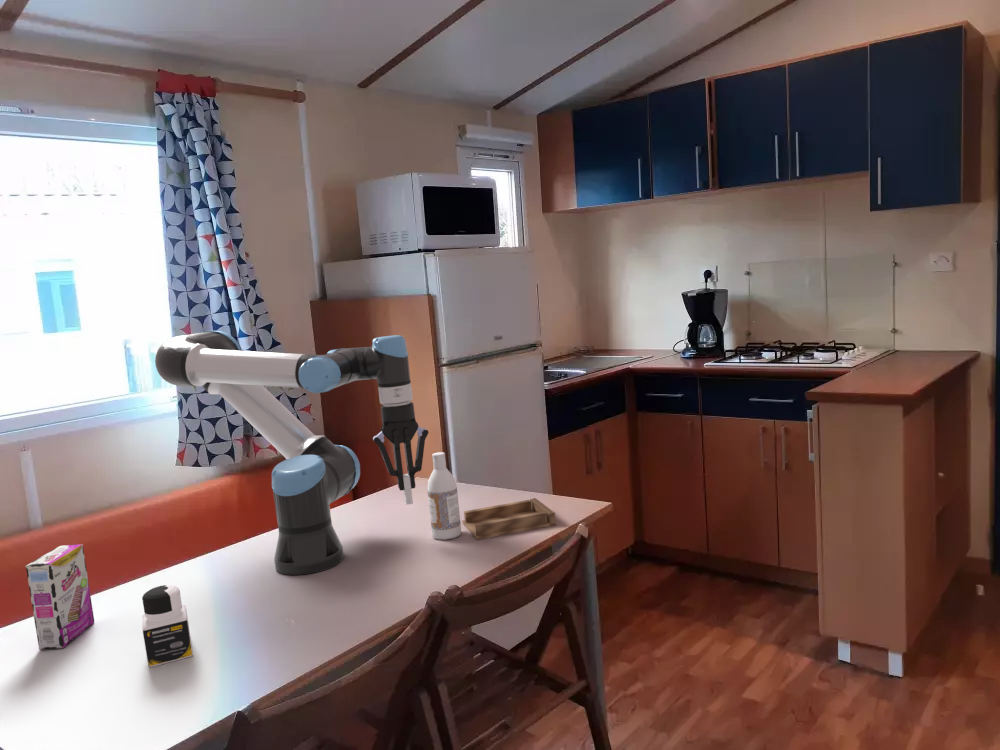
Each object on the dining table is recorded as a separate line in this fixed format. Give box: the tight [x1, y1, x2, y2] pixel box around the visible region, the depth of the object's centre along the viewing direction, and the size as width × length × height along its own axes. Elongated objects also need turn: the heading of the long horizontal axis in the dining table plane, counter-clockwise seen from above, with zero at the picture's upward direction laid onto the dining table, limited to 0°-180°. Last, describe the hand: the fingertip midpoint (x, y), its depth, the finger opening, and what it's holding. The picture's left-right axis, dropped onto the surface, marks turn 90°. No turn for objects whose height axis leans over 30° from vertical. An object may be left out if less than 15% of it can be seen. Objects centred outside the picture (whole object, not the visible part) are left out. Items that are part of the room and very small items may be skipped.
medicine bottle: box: [141, 584, 194, 668], centre depth 139 cm, size 7×7×12 cm
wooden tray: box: [462, 497, 557, 541], centre depth 193 cm, size 20×14×3 cm
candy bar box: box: [25, 543, 95, 651], centre depth 151 cm, size 11×5×16 cm, turn 178°
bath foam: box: [427, 451, 462, 541], centre depth 188 cm, size 7×7×20 cm
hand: (408, 502), depth 185 cm, fingers closed
